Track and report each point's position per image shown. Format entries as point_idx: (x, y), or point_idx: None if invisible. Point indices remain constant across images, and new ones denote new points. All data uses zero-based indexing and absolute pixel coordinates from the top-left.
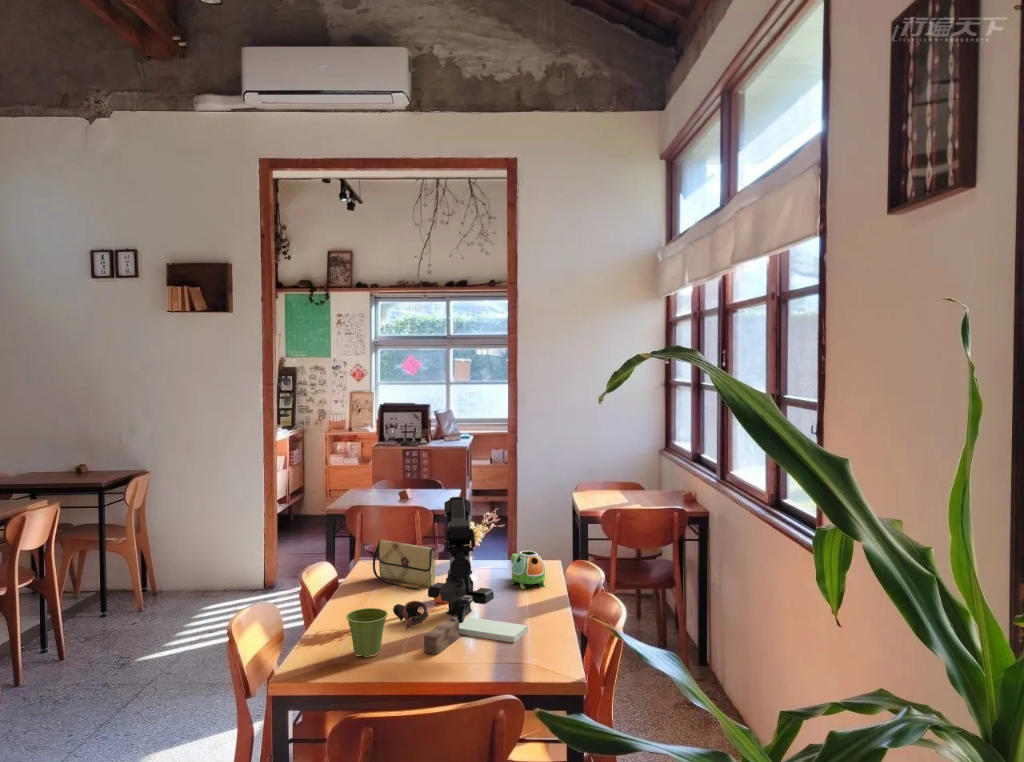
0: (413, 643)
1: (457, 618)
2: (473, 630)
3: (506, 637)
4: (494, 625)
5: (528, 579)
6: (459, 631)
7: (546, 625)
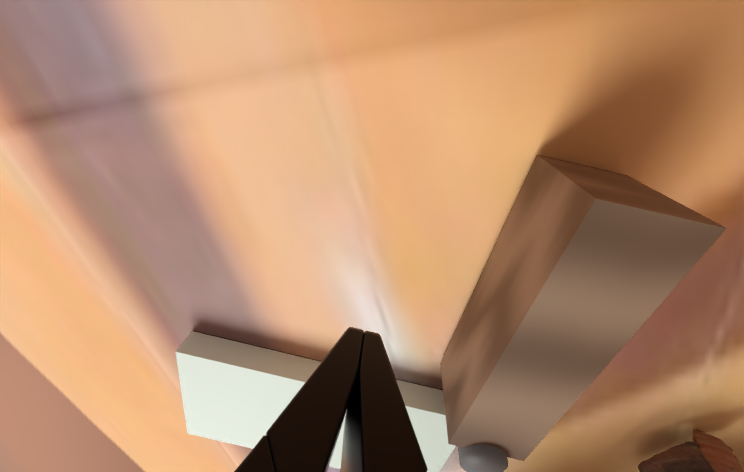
0: (687, 299)
1: (390, 372)
2: None
3: (218, 353)
4: None
5: None
6: None
7: (169, 443)
